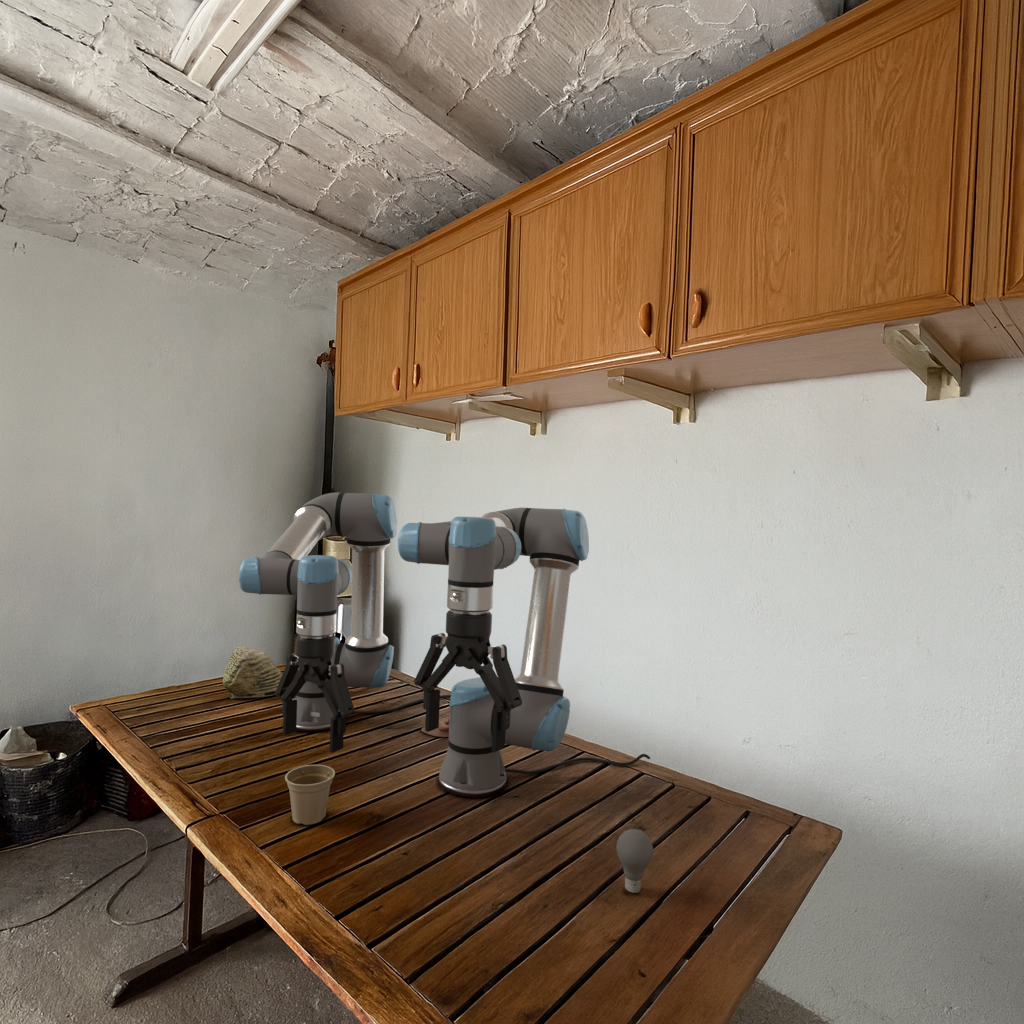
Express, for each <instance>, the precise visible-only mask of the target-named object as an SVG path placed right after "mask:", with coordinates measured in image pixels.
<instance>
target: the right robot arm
mask: <svg viewBox="0 0 1024 1024" xmlns="http://www.w3.org/2000/svg"><path fill="white" fill-rule="evenodd" d="M589 539H590V537H589V528H588V524H587V520H586V518H585V515H584V514H583V513H582V512H581V511H579V510H575V509H574V510H572V509H566V508H538V507H514V508H508V509H502V510H501V509H500V510H496V511H489V512H487V513H485V514H483V515H482V516H455V517H453V518H452V519H451V520H449V521H442V522H432V523H431V522H429V523H428V522H421V521H419V522H408V523H406V524H404V525H403V526H402V527H401V529H400V531H399V533H398V537H397V551H398V554H399V556H400V558H401V559H402V560H403V561H405V562H408V563H415V564H417V565H420V564H423V565H424V564H427V565H437V566H439V565H440V566H448V575H447V576H448V577H447V578H448V579H447V593H446V594H447V595H446V607H447V608H448V609H449V610H448V611H447V612H446V614H445V633H446V634H447V636H446V634H445V633H444V632H439V633H437V634H432V635H431V637H430V644H429V648H428V650H427V652H426V655H425V657H424V659H423V661H422V664H421V665H420V667H419V669H418V672H417V674H416V676H415V678H414V680H413V683H414V685H415V686H416V687H418V686H419V687H421V689H422V691H423V698H422V699H423V704H422V706H423V710H425V722H424V723H425V724H424V727H425V731H427V732H430V731H432V730H434V729H436V728H439V721H440V705H441V704H440V703H441V698H440V696H441V689H438V688H439V684H440V683H441V682H442V681H443V680H444V679H445V677H446V676H447V675H448V674H449V673H450V672H451V671H452V669H453V668H455V667H456V668H457V667H458V668H465V669H466V670H473V671H474V672H475V674H476V675H478V676H479V677H472V678H471V677H470V678H467V679H464V680H461V681H458V682H456V683H455V684H454V685H453V686H452V687H451V689H450V695H451V697H450V698H449V699H450V700H449V717H448V718H449V737H448V747H447V750H446V753H445V755H444V759H443V761H442V764H441V767H440V769H439V774H438V784H439V787H440V788H441V789H442V790H444V791H445V792H447V793H448V794H451V795H454V796H458V797H463V798H464V797H465V798H483V797H489V796H492V795H496V794H498V793H500V792H501V791H502V790H504V789H505V788H506V785H507V773H514V774H515V773H517V774H522V775H534V774H539V773H542V772H546V771H549V770H552V769H556V768H559V767H562V766H563V767H564V766H566V765H568V764H571V763H576V762H581V761H582V762H583V761H590V762H599V763H603V764H608V765H613V766H621V767H626V766H631V765H634V764H636V763H637V762H638V761H640V760H641V759H643V758H646V759H647V760H651V757H650V755H648V754H647V753H641V754H640V755H638V756H637V757H636V758H634V759H633V760H631V761H625V762H620V761H612V760H607V759H603V758H597V757H591V756H590V757H583V756H582V757H576V758H572V759H568V760H565V761H562V762H558V763H554V764H551V765H547V766H546V767H542V768H539V769H532V770H523V769H517V768H506V767H505V764H504V761H503V757H502V754H501V753H502V752H501V750H502V749H505V747H506V745H509V746H515V747H520V748H524V749H530V750H532V751H541V752H552V751H554V750H556V749H557V748H558V747H559V746H560V744H561V742H562V741H563V739H564V737H565V733H566V730H567V727H568V723H569V719H570V714H571V713H570V712H571V709H570V708H571V701H570V699H569V698H568V697H566V696H564V692H565V688H564V686H563V684H561V682H560V681H559V675H560V667H561V659H562V653H563V651H562V650H563V644H564V636H565V635H564V634H565V629H566V620H567V619H566V617H567V611H568V603H569V594H570V587H571V580H572V579H571V578H572V575H573V574H574V573H575V572H576V571H578V570H579V568H580V562H583V561H586V560H587V559H588V556H589V553H590V551H589V550H590V544H589V543H590V540H589ZM520 556H524V557H529V560H528V563H529V564H530V565H531V567H532V568H533V570H534V571H533V579H532V585H531V594H530V601H529V608H528V615H527V621H526V627H525V628H526V629H525V637H524V644H523V650H522V658H521V666H520V671H519V675H518V676H516V677H515V676H514V674H513V671H512V668H511V665H510V663H509V659H508V648H507V645H506V644H504V643H503V644H499V645H492V644H491V642H490V638H491V635H492V629H493V628H492V625H493V614H492V613H491V610H492V609H493V607H494V605H493V604H494V580H495V579H494V578H495V577H494V576H495V571H496V570H504V569H506V568H508V567H510V566H512V565H513V564H514V563H516V562H517V561H518V560H519V558H520ZM445 648H446V650H447V652H448V653H447V654H445V656H444V657H443V659H441V663H440V664H439V665H438V666H437V664H438V662H439V660H440V658H441V655H442V653H443V652H444V649H445ZM489 655H490V657H489ZM491 660H492V661H491ZM493 667H494V668H493Z"/></svg>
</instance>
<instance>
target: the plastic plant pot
mask: <svg viewBox="0 0 1024 1024" xmlns="http://www.w3.org/2000/svg"><path fill="white" fill-rule="evenodd" d="M335 776H336V772H335V769H334V768H333V767H332V766H328V765H323V764H307V765H306V764H305V765H301V766H298V767H295V768H293V769H291V770H289V771H287V773H286V774H285V775H284V780H285V782H286V783H287V784H286V785H287V788H288V790H289V791H288V792H289V799H290V806H291V807H290V808H291V809H290V810H291V815H292V816H291V817H292V821H293V823H295V824H297V825H300V824H302V825H304V826H310V825H314V824H318V823H320V822H321V821H322V820H323V819H324V818H325V817H326V815H327V808H328V802H329V795H330V789H331V785H332V784H333V779H334V777H335Z"/></svg>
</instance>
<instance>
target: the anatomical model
mask: <svg viewBox="0 0 1024 1024" xmlns="http://www.w3.org/2000/svg"><path fill="white" fill-rule="evenodd" d="M420 730H421V732H422V733H424V734H426V735H430V736H433V737H438V738H439V737H440V738H447V737H448V738H449V717H446V718H443V719H441V720H440V719H439V728H436V729H434V730H432V731H430V732H427V731H425V726H422V728H421V729H420Z"/></svg>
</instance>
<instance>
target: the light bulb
mask: <svg viewBox="0 0 1024 1024" xmlns="http://www.w3.org/2000/svg"><path fill="white" fill-rule="evenodd" d="M615 849H616V854H617V857H618V859H619V861H620V863H621V865H622V867H623V873H624V874H623V875H624V876H625V878H624V888H625V890H627V891H628V892H630V893H634V894H635V893H639V892H640V891H641V889H642V887H641V886H642V879H643V877H644V875H645V871H646V868H647V867H648V866H649V864H650V863H651V861H652V859H653V855H654V847H653V843H652V841H651V838H649V836H648V835H647V834H646V833H645V832H643V831H642V830H641V829H636V828H629V829H627V830H625V831H623V832H622V833H621V834H620V835H619V837H618V839H617V841H616V847H615Z"/></svg>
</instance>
